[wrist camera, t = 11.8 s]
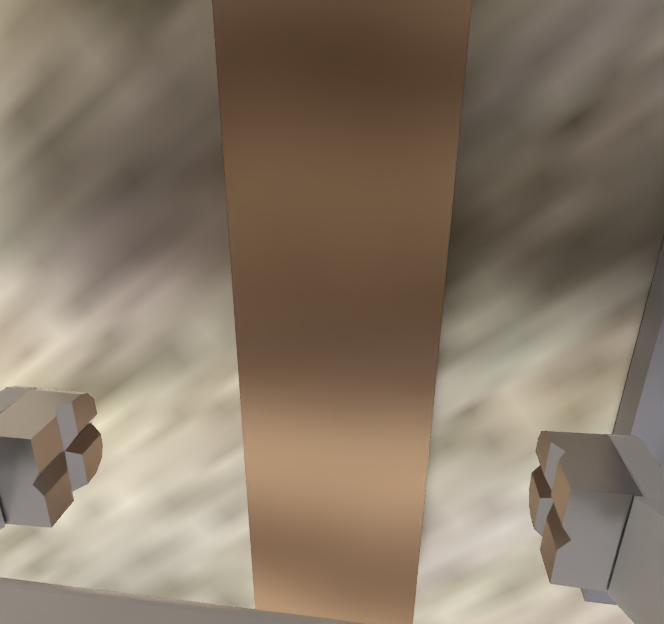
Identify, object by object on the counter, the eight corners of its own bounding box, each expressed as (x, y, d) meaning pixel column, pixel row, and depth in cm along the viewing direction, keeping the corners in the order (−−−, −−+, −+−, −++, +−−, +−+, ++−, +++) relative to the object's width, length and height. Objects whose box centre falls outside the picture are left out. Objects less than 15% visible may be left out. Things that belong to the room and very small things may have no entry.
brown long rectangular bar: (247, -120, 12) (199, -176, 10) (472, -129, 12) (490, -192, 9) (277, 541, 20) (255, 613, 18) (412, 557, 20) (411, 634, 17)
